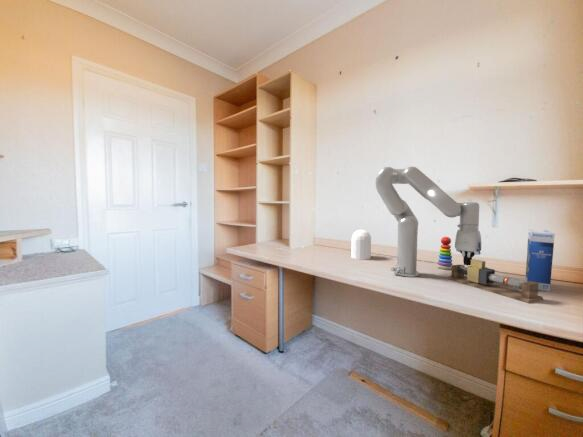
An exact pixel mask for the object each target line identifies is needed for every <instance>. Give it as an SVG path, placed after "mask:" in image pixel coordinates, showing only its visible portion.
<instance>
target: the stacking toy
mask: <svg viewBox="0 0 583 437" xmlns="http://www.w3.org/2000/svg"><path fill="white" fill-rule="evenodd" d="M440 242H441V245H440V248H439V255H438V259H437V260H438V261H437V265H436V267H437V269H440V270H447V271H448V270H451V271H452V266H453V259H452V258H453V256H452V252H451V251H452V250H451V248H452V245H450V244H451V243H452V239H451V238H450V237H449V236H443V237H442V238H441V239H440Z"/></svg>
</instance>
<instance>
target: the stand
mask: <svg viewBox="0 0 583 437" xmlns="http://www.w3.org/2000/svg"><path fill="white" fill-rule="evenodd" d="M460 266H462V267H465V266H466V265H464V264H452V269H451V276H446V280H449V281H452V282H453V281H454V282H456V283H459V284H463V285H466V286H470V287H474V288H476V289H480V290H483V291H487V292H491V293H493V294H497V295H500V296H503V297H506V298H510V299H514V300H517V301H520V302H523V303H527V304H530V303H534V302H538V301H541V300H543V299H544V298H543V296H540V295H539V290H538V283H537V282H533V281H528V282H524V283H522V290H520V289H516V288H513V287H509V286H505V285H501V284H500V285H499V284H498V283H492V284H487V285H485V284H481V283H476V282H472V281H469V280H467V275H465V274H461V273H459V272H458V268H459V267H460Z"/></svg>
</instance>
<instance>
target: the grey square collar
mask: <svg viewBox="0 0 583 437" xmlns="http://www.w3.org/2000/svg"><path fill="white" fill-rule="evenodd" d="M495 272H496V269H493V268H489V267H487V268H485V269H479V282H478V283H481V284H485V285H487V284H492V283H493V284H495V282H491V281H487V273H492V274H496V273H495Z"/></svg>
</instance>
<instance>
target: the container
mask: <svg viewBox="0 0 583 437" xmlns="http://www.w3.org/2000/svg"><path fill="white" fill-rule="evenodd" d="M350 241H351V244H350V245H351V250H350V254H351V255H350V257H351V259H353V258H354V260H361V261H362V260H367V261H368V260H370V259H371V258H372V256H371V255H372V236H371V234H370V232H369V231H367V230H366V229H356V231H354V232H353V233H352V235H351V240H350Z"/></svg>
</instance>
